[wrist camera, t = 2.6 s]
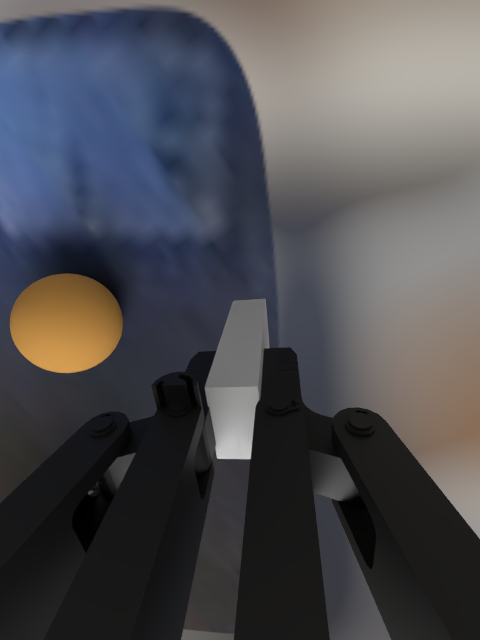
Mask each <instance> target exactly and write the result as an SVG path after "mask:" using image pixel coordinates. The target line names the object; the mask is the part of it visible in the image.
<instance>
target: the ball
mask: <svg viewBox="0 0 480 640" xmlns="http://www.w3.org/2000/svg"><path fill="white" fill-rule="evenodd" d="M122 328H123V318H122V312H121V309H120V306H119V304H118V302H117V300H116V299H115V297H114V296H113V294H112V293H111V292H110V291H109V290H108V289H107V288H106V287H105V286H103V285H102V284H101V283H99V282H97V281H96V280H94V279H91V278H89V277H86V276H82V275H78V274H69V273H66V274H56V275H51V276H47V277H44V278H42V279H40V280H38V281H36V282H34V283H33V284H31V285H30V286H28V287H27V288H26V289H25V290H24V291H23V292H22V293H21V294H20V296H19V297H18V299H17V300H16V302H15V304H14V306H13V309H12V311H11V316H10V330H11V335H12V338H13V341H14V343H15V345H16V347H17V348H18V350H19V351H20V352H21V353H22V355H23V356H24V357H25V358H27V359H28V360H29V361H30V362H32V363H33V364H35V365H37V366H38V367H41V368H43V369H46V370H49V371H53V372H59V373H73V372H79V371H83V370H87V369H89V368H92V367H94V366H96V365H97V364H99V363H101V362H102V361H103V360H105V359H106V358H107V357H108V356H109V355H110V354H111V353H112V352H113V350H114V349H115V347H116V346H117V344H118V342H119V340H120V337H121V333H122Z"/></svg>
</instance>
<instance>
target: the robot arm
mask: <svg viewBox="0 0 480 640" xmlns="http://www.w3.org/2000/svg"><path fill="white" fill-rule="evenodd" d="M151 387H152V391H153V394H154V398H155V402H156V406H157V411H156V413H155V415H154V416H152V417H149V418H145V419H141V420H137V421H133V422H129V420H128V418H127V416H126V415H125V414H123V413H121V412H107V413H103V414H100V415H98V416H96V417H94V418H92V419H91V420H89V421H88V422H87V423H85V424H84V425H83V426H82V427H81V428H80V429H79V430H78V431H77V432H76V433H75V434H74V435H73V436H71V437H70V438H69V439H68V440H67V441H66V442H65V443H64V444H63V445H62V446H61V447H60V448H59V449H58V450H57V451H56V452H54V453H53V454H52V455H51V456H50V457H49V458H48V459H47V460H46V461H45V462H44V463H43V464H42V465H41V466H40V467H39V468H37V469H36V470H35V471H34V472H33V473H32V474H31V475H30V476H29V477H28V478H27V479H26V480H25V481H24V482H23V483H21V484H20V485H19V486H18V487H17V488H16V489H15V490H14V491H13V492H12V493H11V494H10V495H9V496H8V497H7V498H6V499H4V500H3V501H2V502H1V503H0V640H181V637H182V632H183V627H184V622H185V617H186V612H187V607H188V602H189V597H190V592H191V587H192V582H193V577H194V572H195V567H196V562H197V557H198V552H199V547H200V542H201V537H202V533H203V528H204V523H205V518H206V513H207V508H208V503H209V498H210V493H211V488H212V483H213V478H214V464H213V455H214V451H215V448H216V454H217V459H251V461H250V472H249V483H248V493H247V504H246V515H245V526H244V537H243V547H242V558H241V569H240V580H239V590H238V601H237V612H236V623H235V634H234V640H330V639H329V630H328V622H327V613H326V603H325V595H324V585H323V577H322V567H321V559H320V549H319V540H318V531H317V522H316V513H315V504H314V495H313V492H314V493H317V494H320V495H323V496H326V497H329V498H332V502H333V505H334V507H335V509H336V512H337V514H338V517H339V519H340V521H341V523H342V526H343V528H344V530H345V533H346V535H347V537H348V540H349V542H350V544H351V547H352V549H353V551H354V554H355V556H356V558H357V561H358V563H359V565H360V568H361V570H362V572H363V575H364V577H365V579H366V582H367V584H368V586H369V589H370V591H371V593H372V595H373V598H374V600H375V602H376V605H377V607H378V610H379V612H380V614H381V616H382V619H383V621H384V623H385V626H386V628H387V630H388V633H389V635H390V637H391V640H480V539H479V538H478V537H477V535H476V534H475V533H474V532H473V530H472V529H471V528H470V526H469V525H468V524H467V523H466V521H465V520H464V519H463V518H462V516H461V515H460V514H459V512H458V511H457V510H456V509H455V507H454V506H453V505H452V504H451V503H450V501H449V500H448V499H447V497H446V496H445V495H444V494H443V492H442V491H441V490H440V489H439V487H438V486H437V485H436V484H435V482H434V481H433V480H432V479H431V477H430V476H429V475H428V474H427V472H426V471H425V470H424V468H423V467H422V466H421V465H420V464H419V462H418V461H417V460H416V459H415V457H414V456H413V455H412V453H411V452H410V451H409V450H408V448H407V447H406V446H405V445H404V443H403V442H402V441H401V440H400V438H399V437H398V436H397V434H396V433H395V432H394V431H393V430H392V428H391V427H390V426H389V424H388V423H387V422H386V421H385V420H384V419H383V418H382V417H381V416H380V415H379V414H377V413H374V412H372V411H370V410H367V409H363V408H347V409H344V410H341V411H339V412H338V413H337V414H336V415H335V416H334V418H332V417H327V416H323V415H320V414H317V413H315V412H313V411H311V410H310V409H309V408H307V407H306V406H305V405H304V403H303V401H302V398H301V389H300V380H299V371H298V362H297V355H296V353H295V352H294V351H293V350H292V349H291V348H269V338H268V325H267V311H266V299H254V300H237V301H233V303H232V306H231V309H230V312H229V315H228V318H227V321H226V324H225V327H224V330H223V333H222V336H221V339H220V342H219V345H218V348H217V351H207V352H198V353H197V354H196V355H195V356H194V357H193V358H192V359H191V360H190V362H189V364H188V367H187V369H186V371H185V372H175V373H170V374H167V375H164V376H162V377H161V378H159V379H158V380H156V381H155V382H154V383H153V384H152V386H151ZM95 484H97V486H98V487H97V489H96V490H95V491H94V492H92V493H91V494H90V495H89V494H88V492H89V491H90V490H91V489H92V487H93V486H94V485H95Z"/></svg>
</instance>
